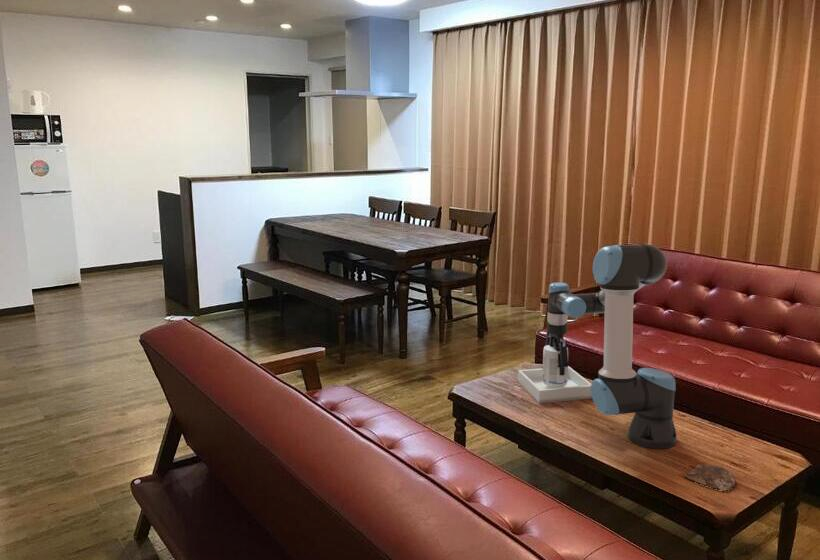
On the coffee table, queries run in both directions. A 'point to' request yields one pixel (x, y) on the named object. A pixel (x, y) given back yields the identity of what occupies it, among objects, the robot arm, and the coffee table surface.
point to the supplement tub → (552, 367)
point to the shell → (712, 477)
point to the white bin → (544, 394)
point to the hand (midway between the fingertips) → (554, 377)
